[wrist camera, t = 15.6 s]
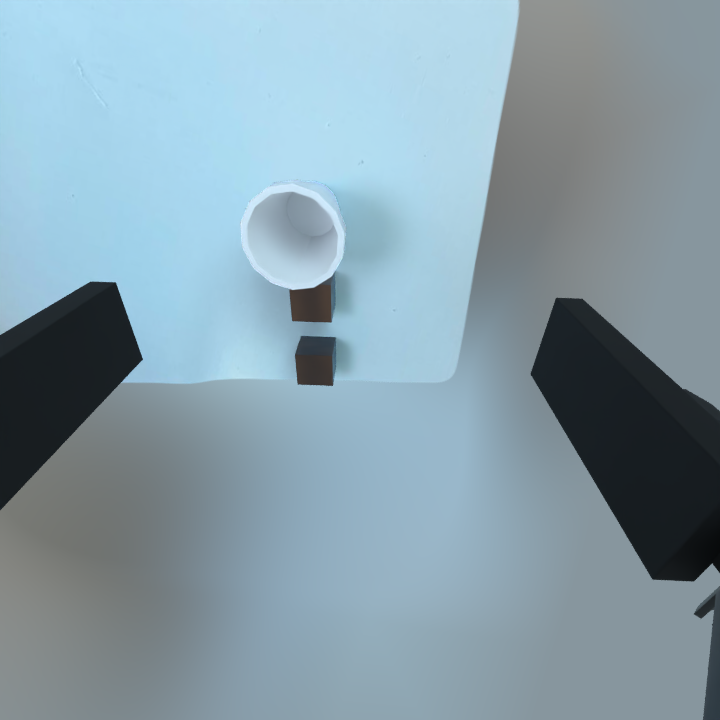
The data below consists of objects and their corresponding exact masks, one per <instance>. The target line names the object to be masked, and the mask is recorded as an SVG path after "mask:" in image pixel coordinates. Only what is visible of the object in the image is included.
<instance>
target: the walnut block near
mask: <svg viewBox="0 0 720 720" xmlns="http://www.w3.org/2000/svg"><path fill="white" fill-rule="evenodd" d="M290 301H291V313H292V321H304V322H332V318H333V314H334V309H335V272H334V274H333V275H332V277H330V278H328V279H327V280H325V281H324V282H322V283H321V284H319V285H317V286H316V287H314V288H306V289H296V290H291V289H290Z"/></svg>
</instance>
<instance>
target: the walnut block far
mask: <svg viewBox="0 0 720 720" xmlns="http://www.w3.org/2000/svg"><path fill="white" fill-rule="evenodd" d="M295 359H296V371H297V382H298V384H301V385H326V386H333V382H334V376H335V370H336V338H335V337H308V336H301V339H300V342H299V345H298V348H297V351H296V354H295Z"/></svg>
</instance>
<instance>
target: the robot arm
mask: <svg viewBox="0 0 720 720" xmlns="http://www.w3.org/2000/svg"><path fill="white" fill-rule="evenodd" d="M142 360H143V358H142V355H141V353H140V350H139V347H138V344H137V341H136V338H135V336H134V333H133V330H132V327H131V324H130V321H129V319H128V316H127V313H126V310H125V307H124V304H123V302H122V299H121V296H120V293H119V290H118V287H117V285H116V283H115V282H89V283H87V284H86V285H84V286H82V287H81V288H79V289H77V290H76V291H74V292H72V293H71V294H69V295H67V296H66V297H64V298H62V299H60V300H59V301H57V302H55V303H54V304H52V305H50V306H49V307H47V308H45V309H44V310H42V311H40V312H38V313H37V314H35V315H33V316H32V317H30V318H28V319H27V320H25V321H23V322H22V323H20V324H18V325H17V326H15V327H13V328H11V329H10V330H8V331H6V332H5V333H3V334H1V335H0V510H1V509H2V508H3V507H4V506H5V505H6V504H7V503H8V501H9V500H10V499H11V498H12V497H13V496H14V495H15V494H16V493H17V492H18V491H19V490H20V489H21V488H22V487H23V486H24V484H25V483H26V482H27V481H28V480H29V479H30V478H31V477H32V476H33V475H34V474H35V473H36V472H37V471H38V470H39V468H41V466H42V465H43V464H44V463H45V462H46V461H47V460H48V459H49V458H50V457H51V456H52V455H53V454H54V453H55V452H56V451H57V450H58V449H59V447H60V446H61V445H62V444H63V443H64V442H65V441H66V440H67V439H68V438H69V437H70V436H71V435H72V434H73V433H74V432H75V430H77V428H78V427H79V426H80V425H81V424H82V423H83V422H84V421H85V420H86V419H87V418H88V417H89V416H90V415H91V414H92V412H94V410H95V409H96V408H97V407H98V406H99V405H100V404H101V403H102V402H103V401H104V400H105V399H106V398H107V397H108V396H109V395H110V394H111V392H112V391H113V390H114V389H115V388H116V387H117V386H118V385H119V384H120V383H121V382H122V381H123V380H124V379H125V378H126V377H127V376H128V374H129V373H130V372H131V371H132V370H133V369H134V368H135V367H136V366H137V365H138V364H139V363H140V362H141V361H142ZM531 376H532V377H533V379H534V380H535V382H536V384H537V386H538V387H539V389H540V391H541V392H542V394H543V396H544V397H545V399H546V401H547V403H548V404H549V406H550V408H551V409H552V410H553V413H554V414H555V416H556V418H557V419H558V421H559V423H560V424H561V426H562V428H563V430H564V431H565V433H566V434H567V436H568V438H569V440H570V441H571V443H572V445H573V446H574V448H575V450H576V451H577V453H578V455H579V456H580V458H581V460H582V462H583V463H584V465H585V467H586V468H587V470H588V471H589V473H590V475H591V477H592V478H593V480H594V482H595V483H596V485H597V487H598V488H599V490H600V492H601V494H602V495H603V497H604V498H605V500H606V502H607V504H608V505H609V507H610V509H611V510H612V512H613V514H614V515H615V517H616V518H617V520H618V522H619V524H620V526H621V527H622V529H623V530H624V532H625V534H626V536H627V537H628V539H629V541H630V542H631V544H632V546H633V547H634V549H635V551H636V552H637V554H638V556H639V557H640V559H641V561H642V563H643V564H644V566H645V568H646V569H647V571H648V573H649V574H650V576H651V578H652V579H654V580H675V581H695V580H696V579H697V578H698V577H699V576H700V575H701V574H702V573H703V572H704V571H705V570H706V569H707V568H708V567H709V566H710V565H711V564H712V563H713V565H714V566H715V567H716V569H717V570H718V571H719V573H720V411H719V410H717V409H716V408H715V407H714V406H713V405H712V404H710V403H709V402H707V401H705V400H703V399H702V398H700V397H698V396H696V395H695V394H693V393H691V392H689V391H688V390H686V389H682V388H681V387H680V386H679V385H678V384H676V383H675V382H674V381H673V380H672V379H671V378H670V377H669V376H668V375H666V374H665V373H664V372H663V371H662V370H661V369H660V368H659V367H657V366H656V365H655V364H654V363H653V362H652V361H651V360H650V359H649V358H648V357H646V356H645V355H644V354H643V353H642V352H641V351H640V350H639V349H638V348H636V347H635V346H634V345H633V344H632V343H631V342H630V341H629V340H628V339H626V338H625V337H624V336H623V335H622V334H621V333H620V332H619V331H618V330H616V329H615V328H614V327H613V326H612V325H611V324H610V323H609V322H607V321H606V320H605V319H604V318H603V317H602V316H601V315H599V314H598V313H597V312H596V311H595V310H594V309H593V308H592V307H591V306H590V305H589V304H587V303H586V302H585V301H584V300H583V299H572V298H556V300H555V303H554V306H553V309H552V312H551V315H550V318H549V321H548V324H547V327H546V329H545V333H544V336H543V338H542V342H541V344H540V347H539V351H538V354H537V356H536V359H535V363H534V366H533V369H532V371H531ZM711 610H714V617H713V624H712V626H713V627H712V637H711V647H710V657H709V667H708V677H707V687H706V697H705V706H704V717H703V720H720V587H718V588H717V589H716V590H715V591H714V592H713V593H712V594H711V595H710V596H709V597H708V598H707V599H705V600H704V601H703V602H702V603H701V604H700V605H699V606H698V607H697V609H696V611H695V613H694V614H695V615H696V616H698V617H699V618H702V617H704V616H705V615H706V614H707V613H708V612H709V611H711Z"/></svg>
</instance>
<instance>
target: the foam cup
mask: <svg viewBox="0 0 720 720" xmlns="http://www.w3.org/2000/svg"><path fill="white" fill-rule="evenodd" d="M240 227H241V240H242V248H243V250H244V252H245V253H246V255H247V257H248V259H249V261H250V263H251V265H252V267H253V268H254V269H255V270H256V271H257V272H259V273H260V274H261V275H262V276H263V277H265V278H266V279H267V280H268V281H269V282H271V283H273V284H276V285H279V286H282V287H285V288H288V289H291V290H296V289H306V288H314V287H316V286H317V285H319V284H321V283H322V282H324V281H325V280H327V279H328V278H330V277H332V275H333V274H334V272H335V270H336V269H337V267H338V265H339V263H340V262H341V260H342V258H343V255H344V251H345V239H346V226H345V223H344V220H343V218H342V215H341V212H340V208H339V205H338V202H337V200H336V197H335V194H334V193H333V192H332V191H331V190H330V189H329V188H328V187H327V186H326V185H324V184H321V183H318V182H316V181H301V180H298V179H296V180H289V181H282V182H274V183H273V184H271V185H270V186H268V187H267V188H266V189H265V190H263V191H262V192H261V193H259V194H258V195H257V196H255V197H254V198H253V199H252V200H250V201H249V203H248V206H247V208H246V210H245V213H244V215H243V218H242V220H241V222H240Z"/></svg>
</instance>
